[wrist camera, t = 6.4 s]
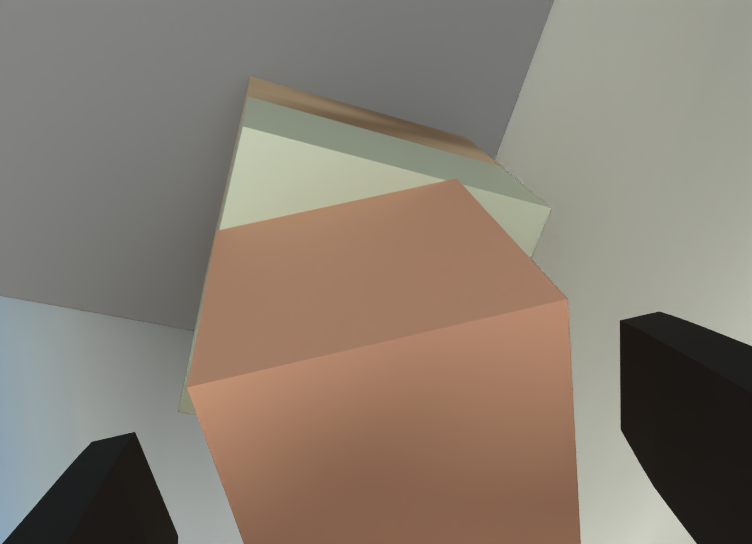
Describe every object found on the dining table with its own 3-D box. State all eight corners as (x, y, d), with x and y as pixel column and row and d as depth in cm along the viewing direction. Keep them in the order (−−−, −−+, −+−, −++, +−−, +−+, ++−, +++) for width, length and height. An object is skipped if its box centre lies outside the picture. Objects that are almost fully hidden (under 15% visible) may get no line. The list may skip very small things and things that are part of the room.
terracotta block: (456, 178, 12) (568, 299, 8) (481, 376, 14) (581, 565, 10) (216, 231, 12) (187, 387, 7) (275, 425, 14) (280, 642, 9)
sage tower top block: (501, 166, 15) (551, 207, 13) (420, 379, 18) (449, 452, 15) (246, 96, 14) (243, 126, 11) (192, 338, 16) (177, 411, 13)
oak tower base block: (466, 137, 18) (501, 166, 15) (400, 324, 20) (420, 379, 18) (249, 75, 17) (246, 96, 14) (203, 285, 19) (192, 338, 16)
